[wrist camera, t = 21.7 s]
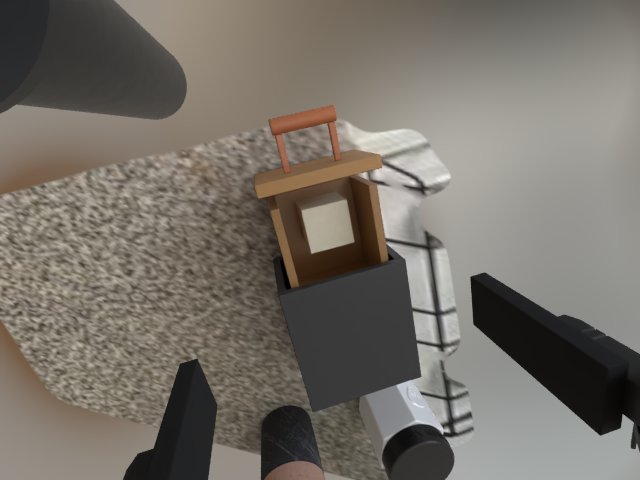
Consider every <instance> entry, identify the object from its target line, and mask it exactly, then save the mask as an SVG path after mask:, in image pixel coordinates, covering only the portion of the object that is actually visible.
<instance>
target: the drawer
mask: <svg viewBox="0 0 640 480" xmlns="http://www.w3.org/2000/svg"><path fill="white" fill-rule="evenodd" d="M336 119H337V115H336V110H335V107H334V106H333V105H331V106H326V107H321V108H317V109H313V110H308V111H304V112H300V113H295V114H291V115H286V116H282V117H278V118H273V119H269V125H270V129H271V133H272V135H275V139H276V143H277V147H278V151H279V155H280V159H281V163H282V167H283V168H279V169H274V170H270V171H266V172H262V173H258V174H254V187H255V190H256V194H257V197H258V199H260V198H264V197H267V200H268V205H269V209H270V214H271V217H272V221H273V224H274V228H275V232H276V235H277V239H278V242H279V246H280V250H281V253H282V257H283V260H284V264H285V268H286V271H287V275H288V278H289V282H290V286H291V289H292V288H296V287H299V286H303V285H306V284H310V283H313V282H317V281H320V280H324V279H327V278H331V277H334V276H338V275H341V274H345V273H348V272H352V271H355V270H359V269H362V268H366V267H369V266H373V265H376V264H380V263H383V262H387V261H389V260H388V254H387V247H386V241H385V235H384V228H383V222H382V215H381V209H380V203H379V196H378V190H377V184H376V183H374V182H371V181H369V180H367V179H364V178H362V177H360V176H357V175H355V174H359V173H363V172H367V171H371V170H375V169H379V168H382V162H381V156H380V155H379V154H374V153H369V152H363V151H358V150H352V151H348V152H344V153H340V148H339V142H338V137H337V132H336V126H335V122H333V121H336ZM325 123H327V124H328V129H329V134H330V140H331V145H332V150H333V155H332V156H328V157H324V158H319V159H315V160H311V161H307V162H303V163H299V164H295V165H291V166H289V163H288V159H287V155H286V151H285V147H284V142H283V138H282V133H286V132H291V131H295V130H299V129H303V128H308V127H312V126H316V125H321V124H325ZM335 191H336V192H337V193H339V194H340V195H341V196H343V197H344V198H345V199H347V203H348V209H349V214H350V220H351V225H352V231H353V236H354V243H350V244H346V245H343V246H339V247H335V248H331V249H328V250H324V251H320V252H317V253H313V254H311V252H310V250H309V248H308V246H307V244H306V242H305V240H304V235H303V231H302V227H301V223H300V219H299V214H298V210H297V206H296V201H299V200H303V199H307V198H311V197H315V196H319V195H323V194H327V193H331V192H335Z"/></svg>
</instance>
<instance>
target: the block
mask: <svg viewBox="0 0 640 480" xmlns="http://www.w3.org/2000/svg"><path fill="white" fill-rule="evenodd" d="M296 206H297V210H298V214H299V219H300V223H301V227H302V231H303V235H304V240H305V242H306V244H307V246H308V248H309V250H310V252H311V254H313V253H317V252H320V251H324V250H328V249H331V248H335V247H339V246H343V245H346V244H350V243H354V236H353V231H352V225H351V220H350V214H349V209H348V203H347V199H345V198H344V197H343V196H341V195H340V194H339V193H337V192H336V191H335V192H331V193H327V194H323V195H319V196H315V197H311V198H307V199H303V200H299V201H296Z"/></svg>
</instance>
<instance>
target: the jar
mask: <svg viewBox="0 0 640 480" xmlns="http://www.w3.org/2000/svg"><path fill="white" fill-rule="evenodd" d="M359 411H360V414H361V416H362V419H363V421H364V424H365V427H366V429H367V432H368V435H369V437H370V440H371V442H372V445H373V448H374V450H375V453H376V456H377V458H378V461H379V463H380V466H381V468H383V469H385V471H386V473H387V476H388V478H389V480H445V479H446V478H447V477H448V475H449V474H450V472H451V470H452V468H453V465H454V453H453V451H452V449H451V447H450V445H449V443H448V441H447V440H446V438H445V437H444V436H443V431H444V430H443V428H442V426H441V425H440V423H439V422H438V420H437V418H436V417H435V415H434V414H433V412H432V411H431V409H430V408H429V406H428V404H427V403H426V401H425V400H424V398H423V397H422V395H421V393H420V392H419V390H418V389H417V387H416V386H415V384H414V383H413V381H412V380H410V381H407V382H404V383H401V384H398V385H395V386H392V387H389V388H386V389H383V390H380V391H377V392H374V393H371V394H368V395H364V396H361V397H360V400H359Z"/></svg>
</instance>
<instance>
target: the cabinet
mask: <svg viewBox="0 0 640 480" xmlns="http://www.w3.org/2000/svg"><path fill="white" fill-rule="evenodd" d="M386 247H387V254H388V260H389V261H387V262H383V263H380V264H376V265H373V266H369V267H366V268H362V269H359V270H355V271H352V272H348V273H345V274H341V275H338V276H334V277H331V278H327V279H324V280H320V281H317V282H313V283H310V284H306V285H303V286H299V287H296V288H292V289H291V286H290V282H289V278H288V275H287V271H286V268H285V264H284V260H283V257H279V258H275V259H273V264H274V270H275V276H276V283H277V289H278V295H279V299H280V303H281V306H282V310H283V313H284V316H285V320H286V323H287V326H288V330H289V333H290V337H291V340H292V343H293V347H294V350H295V354H296V357H297V360H298V364H299V367H300V371H301V374H302V377H303V381H304V384H305V387H306V391H307V394H308V398H309V401H310V404H311V408H312V411H313V412H316V411H319V410H322V409H325V408H328V407H331V406H334V405H337V404H340V403H343V402H346V401H349V400H352V399H355V398H358V397H361V396H364V395H368V394H371V393H374V392H377V391H380V390H383V389H386V388H389V387H392V386H395V385H398V384H401V383H404V382H407V381H410V380H413V379H416V378H419V377H421V371H420V363H419V356H418V349H417V342H416V334H415V327H414V320H413V312H412V305H411V298H410V291H409V283H408V276H407V269H406V262H405V259H404V258H402V257H401V256H400V255H399V254H398V253H397V252H395V251H394V250H393V249H392V248H391V247H389V246H388V245H387V244H386Z"/></svg>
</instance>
